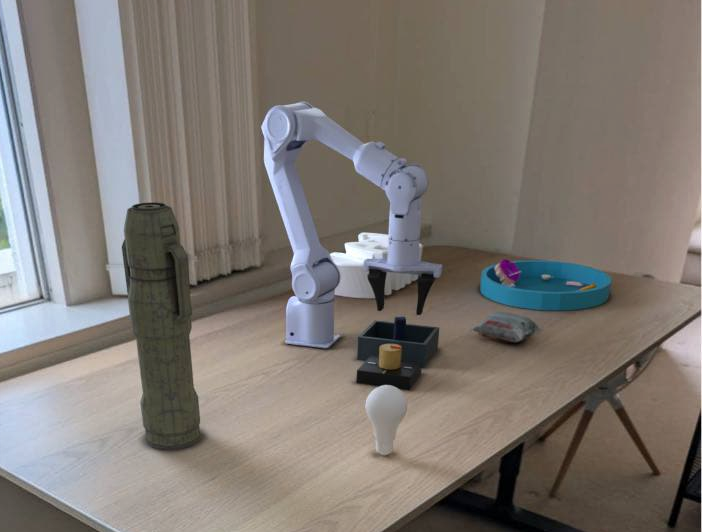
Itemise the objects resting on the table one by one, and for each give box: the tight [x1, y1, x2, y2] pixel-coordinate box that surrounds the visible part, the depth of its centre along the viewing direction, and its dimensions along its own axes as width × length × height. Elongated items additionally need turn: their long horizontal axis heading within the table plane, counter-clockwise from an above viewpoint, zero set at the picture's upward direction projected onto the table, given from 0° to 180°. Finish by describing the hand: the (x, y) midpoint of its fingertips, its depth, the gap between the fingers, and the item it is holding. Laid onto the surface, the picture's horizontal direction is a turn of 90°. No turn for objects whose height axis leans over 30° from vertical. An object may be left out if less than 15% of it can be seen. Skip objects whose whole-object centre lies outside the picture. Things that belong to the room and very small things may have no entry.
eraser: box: [393, 316, 407, 341], centre depth 157 cm, size 2×2×7 cm
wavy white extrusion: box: [330, 232, 424, 299], centre depth 200 cm, size 35×16×11 cm, turn 145°
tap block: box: [356, 356, 422, 391], centre depth 148 cm, size 10×8×3 cm
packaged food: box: [469, 311, 542, 343], centre depth 165 cm, size 9×12×5 cm
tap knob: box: [379, 344, 402, 370], centre depth 146 cm, size 4×4×4 cm
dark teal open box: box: [356, 320, 440, 369], centre depth 158 cm, size 13×11×5 cm
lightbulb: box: [365, 385, 408, 456], centre depth 119 cm, size 6×6×11 cm
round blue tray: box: [479, 258, 613, 311], centre depth 193 cm, size 30×30×6 cm
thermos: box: [121, 201, 201, 451], centre depth 119 cm, size 9×12×35 cm
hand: (399, 311), depth 154 cm, fingers open, 7 cm apart
